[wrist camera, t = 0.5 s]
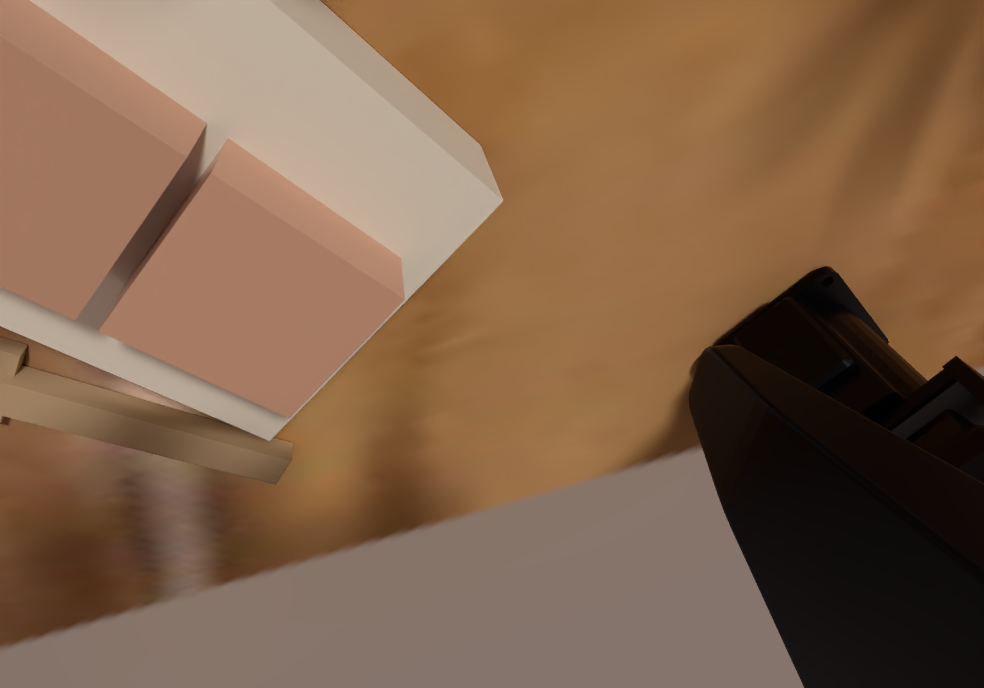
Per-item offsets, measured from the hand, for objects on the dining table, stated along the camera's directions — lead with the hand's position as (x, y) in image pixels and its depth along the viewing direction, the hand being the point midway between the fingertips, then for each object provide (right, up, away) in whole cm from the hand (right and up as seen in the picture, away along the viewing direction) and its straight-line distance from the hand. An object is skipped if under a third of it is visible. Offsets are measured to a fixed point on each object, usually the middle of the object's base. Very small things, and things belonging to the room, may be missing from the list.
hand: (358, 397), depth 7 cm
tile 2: (-4, +3, +8) cm, 10 cm away
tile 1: (-8, +5, +6) cm, 11 cm away
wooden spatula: (-13, -2, +15) cm, 20 cm away
